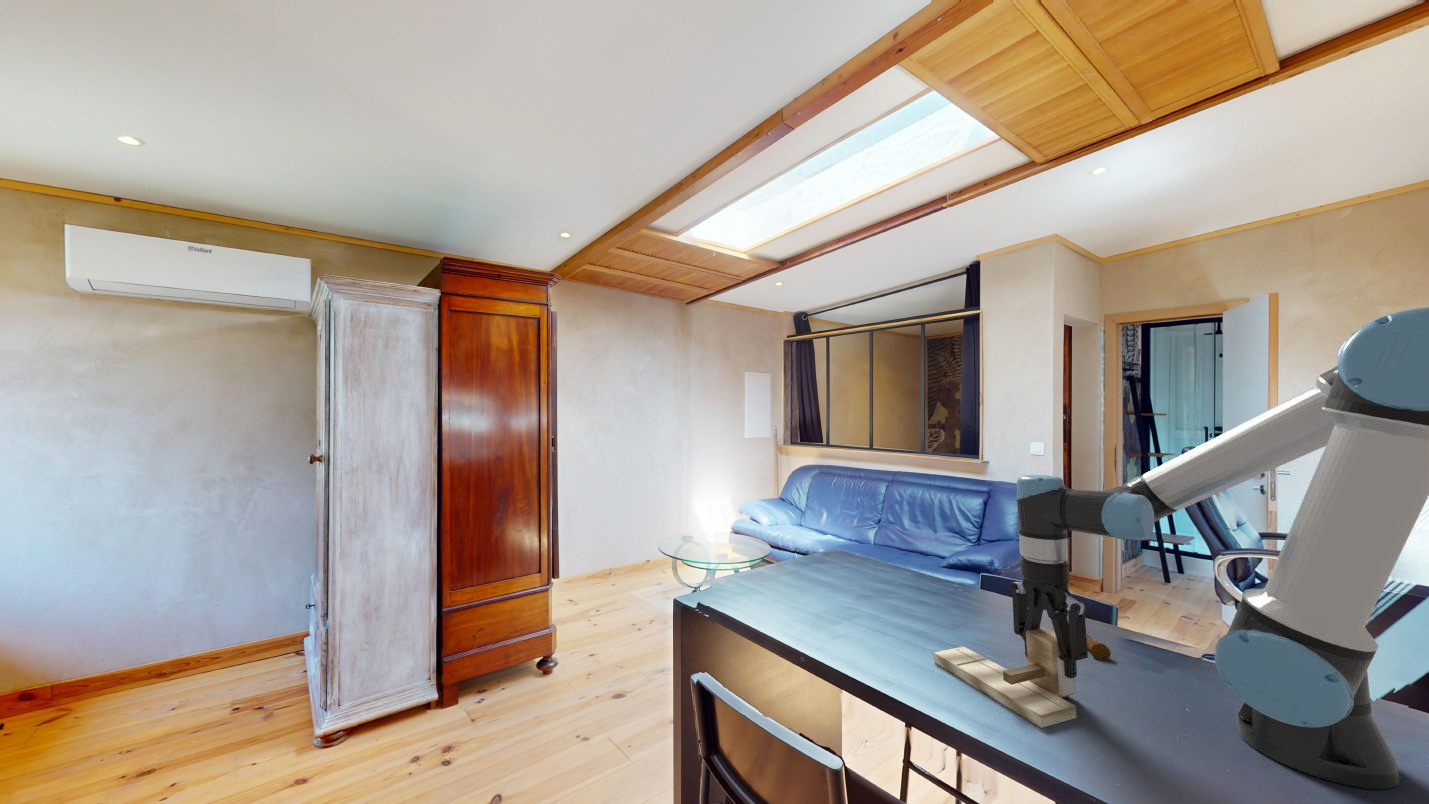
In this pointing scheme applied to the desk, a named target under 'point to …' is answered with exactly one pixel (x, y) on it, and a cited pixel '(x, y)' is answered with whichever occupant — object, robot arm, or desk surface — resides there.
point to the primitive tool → (1097, 649)
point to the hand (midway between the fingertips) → (1051, 685)
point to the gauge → (1039, 662)
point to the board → (1006, 687)
